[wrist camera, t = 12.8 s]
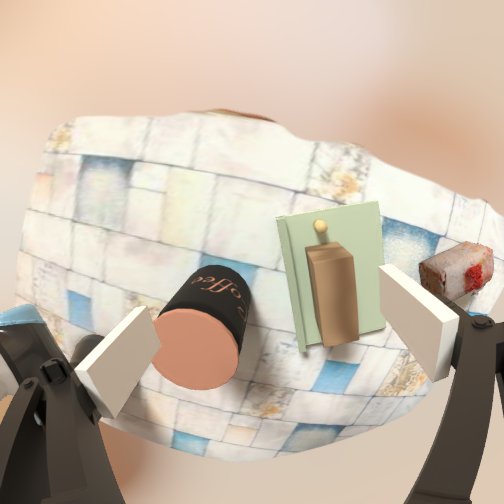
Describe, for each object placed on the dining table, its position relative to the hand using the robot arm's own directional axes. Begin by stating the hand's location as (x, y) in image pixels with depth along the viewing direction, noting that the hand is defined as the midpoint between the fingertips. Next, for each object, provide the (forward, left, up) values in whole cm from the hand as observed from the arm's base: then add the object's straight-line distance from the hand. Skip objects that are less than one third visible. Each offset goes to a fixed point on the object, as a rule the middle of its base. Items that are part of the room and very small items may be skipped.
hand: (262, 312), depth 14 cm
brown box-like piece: (+7, -10, -27) cm, 30 cm away
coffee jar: (-10, -9, -29) cm, 32 cm away
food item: (+32, -12, -29) cm, 45 cm away
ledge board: (+9, -10, -29) cm, 32 cm away
